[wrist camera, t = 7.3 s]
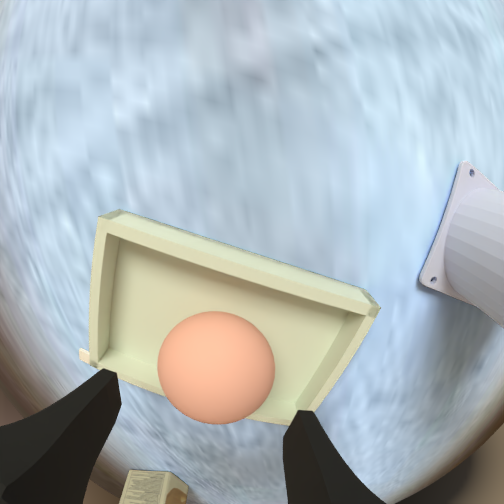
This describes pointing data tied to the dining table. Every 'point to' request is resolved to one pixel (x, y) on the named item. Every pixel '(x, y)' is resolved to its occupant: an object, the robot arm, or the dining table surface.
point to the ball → (216, 367)
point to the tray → (218, 308)
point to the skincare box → (153, 488)
